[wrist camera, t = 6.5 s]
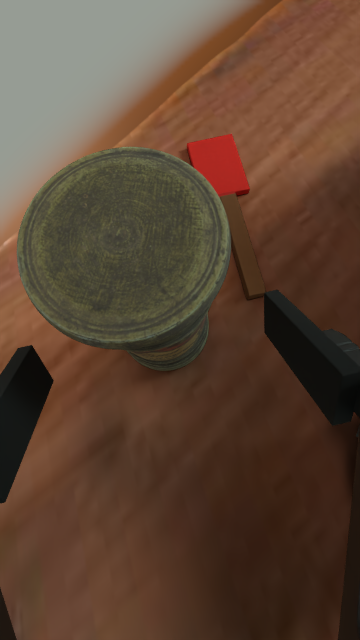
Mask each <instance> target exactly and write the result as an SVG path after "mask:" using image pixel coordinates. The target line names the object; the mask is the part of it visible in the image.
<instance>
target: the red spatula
mask: <svg viewBox="0 0 360 640" xmlns="http://www.w3.org/2000/svg"><path fill="white" fill-rule="evenodd" d="M187 150H188V154H189V157H190V161H191V165H192V167H193V168H195V169H196V170H197V171H198V172H200V173H201V174H202V175H203V176H204V177H205V178H206V179H207V180H208V181H209V183H210V184H211V185H212V187H213V188H214V190H215V191H216V192H217V194H218V196H219V198H220V200H221V202H222V204H223V206H224V209H225V212H226V215H227V218H228V222H229V227H230V234H231V247H232V250H233V254H234V257H235V261H236V264H237V268H238V271H239V274H240V278H241V281H242V285H243V288H244V292H245V295H246V299H247V300H248V299H253V298H257V297H262V296H264V293H265V292H266V289H265V286H264V283H263V279H262V276H261V273H260V270H259V267H258V263H257V260H256V257H255V254H254V250H253V247H252V244H251V241H250V238H249V234H248V231H247V228H246V225H245V221H244V218H243V215H242V212H241V209H240V205H239V202H238V199H237V196H238V195H243V194H247V193H249V190H250V188H249V185H248V182H247V179H246V176H245V173H244V169H243V166H242V163H241V160H240V157H239V154H238V151H237V148H236V145H235V142H234V139H233V136H232V134H228V135H224V136H219V137H214V138H210V139H205V140H200V141H196V142H191V143H187Z"/></svg>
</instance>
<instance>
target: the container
mask: <svg viewBox="0 0 360 640" xmlns="http://www.w3.org/2000/svg"><path fill="white" fill-rule="evenodd" d="M230 254H231V234H230V227H229V222H228V218H227V215H226V212H225V209H224V206H223V204H222V202H221V200H220V198H219V196H218V194H217V192H216V191H215V190H214V188H213V187H212V185H211V184H210V183H209V181H208V180H207V179H206V178H205V177H204V176H203V175H202V174H201V173H200V172H198V171H197V170H196V169H195V168H193V167H192V166H191V165H189V164H188V163H186V162H184V161H183V160H181V159H179V158H177V157H175V156H173V155H170V154H168V153H165V152H162V151H158V150H154V149H149V148H142V147H121V148H114V149H108V150H104V151H100V152H97V153H93V154H91V155H88V156H85V157H83V158H81V159H79V160H77V161H75V162H73V163H71V164H69V165H68V166H66V167H65V168H63V169H62V170H60V171H59V172H58V173H57V174H56V175H54V176H53V177H52V178H51V179H50V180H48V181H47V182H46V184H45V185H44V186H43V187H42V188H41V189H40V190H39V191H38V193H37V194H36V196H35V197H34V198H33V200H32V202H31V203H30V205H29V207H28V209H27V211H26V213H25V215H24V217H23V220H22V223H21V227H20V230H19V234H18V241H17V261H18V268H19V273H20V277H21V280H22V283H23V286H24V288H25V290H26V292H27V294H28V296H29V298H30V300H31V302H32V303H33V304H34V306H35V307H36V309H37V310H38V311H39V313H40V314H41V315H42V316H43V317H44V318H45V319H46V320H47V321H48V322H49V323H50V324H51V325H52V326H54V327H55V328H56V329H57V330H59V331H60V332H62V333H63V334H65V335H66V336H68V337H70V338H72V339H74V340H76V341H79V342H81V343H84V344H87V345H90V346H94V347H100V348H105V349H122V350H126V351H127V352H128V353H129V354H130V355H131V356H132V357H133V358H134V359H135V360H136V361H138V362H139V363H140V364H142V365H144V366H146V367H148V368H151V369H154V370H160V371H169V370H175V369H178V368H181V367H184V366H186V365H187V364H189V363H190V362H192V361H193V360H194V359H195V358H196V357H197V356H198V355H199V354H200V352H201V351H202V349H203V347H204V345H205V343H206V340H207V337H208V329H209V321H208V314H207V312H208V310H209V308H210V306H211V304H212V301H213V300H214V298H215V297H216V295H217V294H218V292H219V290H220V288H221V286H222V284H223V282H224V279H225V277H226V274H227V270H228V266H229V261H230Z"/></svg>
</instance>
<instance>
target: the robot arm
mask: <svg viewBox="0 0 360 640" xmlns="http://www.w3.org/2000/svg"><path fill="white" fill-rule="evenodd" d="M264 329H265V334H266V335H267V337H268V338H269V339H270V341H271V342H272V344H273V345H274V346H275V348H276V349H277V350H278V352H279V353H280V355H281V356H282V357H283V359H284V360H285V361H286V363H287V364H288V366H289V367H290V368H291V370H292V371H293V372H294V374H295V375H296V376H297V378H298V379H299V381H300V382H301V383H302V385H303V386H304V387H305V389H306V390H307V392H308V393H309V394H310V396H311V397H312V398H313V400H314V401H315V403H316V404H317V405H318V407H319V408H320V409H321V411H322V412H323V414H324V415H325V416H326V418H327V419H328V420H329V422H330V423H331V425H332V426H333V425H338V424H342V423H346V422H351V420H352V416H353V412H355V413H356V415H357V416H358V417H359V418H360V349H359V347H358V346H357V345H356V344H354V343H352V341H351V340H350V339H349V338H347V337H346V336H345V335H344V334H342V333H340V332H338V331H335V330H333V329H329V330H324V331H321V330H320V329H319V328H318V327H317V326H316V325H315V324H314V323H313V322H312V321H311V320H310V319H309V318H307V317H306V316H305V315H304V314H303V313H302V312H301V311H300V310H299V309H298V308H297V307H296V306H295V305H293V304H292V303H291V302H290V301H289V300H288V299H287V298H286V297H285V296H284V295H283V294H282V293H281V292H279V291H278V290H274V291H269V292H265V293H264ZM53 381H54V380H53V379H52V377H51V375H50V374H49V372H48V370H47V369H46V367H45V366H44V364H43V362H42V361H41V359H40V357H39V356H38V354H37V353H36V351H35V349H34V348H33V346H32V345H30V346H26V347H21V348H18V349H17V351H16V352H15V354H14V355H13V357H12V358H11V360H10V361H9V363H8V364H7V366H6V367H5V369H4V370H3V372H2V373H1V375H0V503H4V502H6V499H7V497H8V494H9V492H10V489H11V487H12V484H13V482H14V479H15V477H16V474H17V472H18V469H19V467H20V464H21V462H22V459H23V456H24V454H25V451H26V449H27V446H28V444H29V441H30V439H31V436H32V434H33V431H34V429H35V426H36V424H37V421H38V419H39V416H40V414H41V411H42V409H43V406H44V404H45V401H46V399H47V396H48V394H49V391H50V389H51V386H52V384H53ZM356 437H358V445H357V455H356V465H355V475H354V485H353V495H352V505H351V515H350V525H349V535H348V545H347V555H346V565H345V575H344V585H343V596H342V606H341V616H340V626H339V636H338V640H360V425H359V428H358V432H357V435H356ZM0 640H17V639H16V636H15V633H14V630H13V627H12V623H11V620H10V617H9V614H8V611H7V608H6V604H5V601H4V598H3V595H2V592H1V589H0Z"/></svg>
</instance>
